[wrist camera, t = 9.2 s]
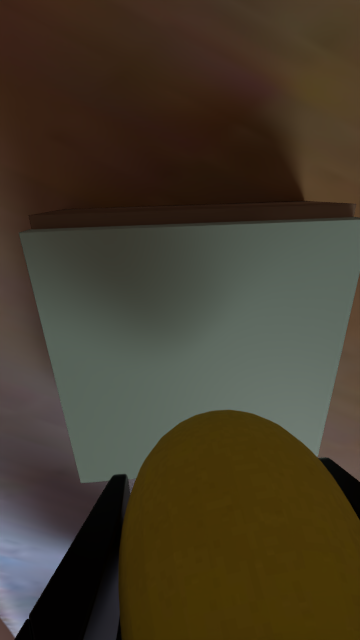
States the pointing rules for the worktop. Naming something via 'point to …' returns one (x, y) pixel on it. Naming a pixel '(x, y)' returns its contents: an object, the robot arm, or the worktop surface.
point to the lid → (191, 327)
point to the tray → (190, 214)
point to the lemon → (237, 538)
